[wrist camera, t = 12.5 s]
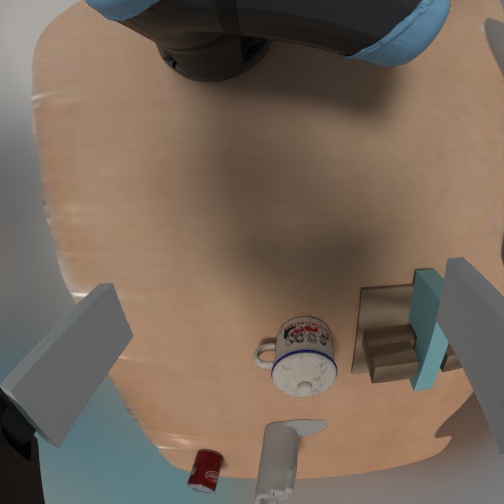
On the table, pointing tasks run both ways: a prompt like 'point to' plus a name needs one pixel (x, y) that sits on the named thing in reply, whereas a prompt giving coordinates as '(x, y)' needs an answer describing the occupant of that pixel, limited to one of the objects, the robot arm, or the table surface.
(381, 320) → the brown stepped fixture
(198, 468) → the soda can
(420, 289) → the teal notched block
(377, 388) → the table surface
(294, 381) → the teacup with lid
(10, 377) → the robot arm
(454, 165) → the table surface
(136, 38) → the table surface
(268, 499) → the candle
